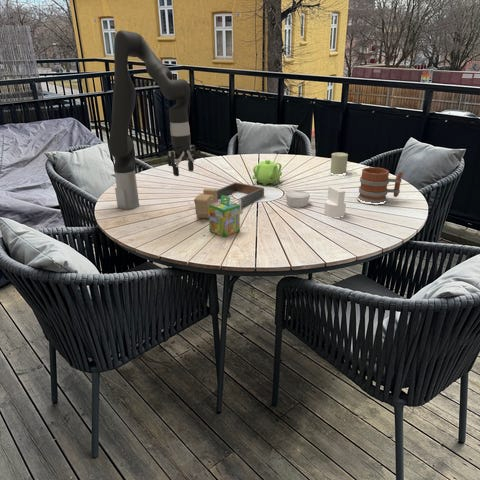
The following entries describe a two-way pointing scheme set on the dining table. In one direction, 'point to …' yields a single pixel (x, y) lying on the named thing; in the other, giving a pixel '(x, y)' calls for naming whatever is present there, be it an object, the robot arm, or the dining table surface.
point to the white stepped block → (335, 202)
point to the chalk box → (224, 217)
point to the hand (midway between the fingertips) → (184, 173)
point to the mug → (377, 185)
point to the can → (339, 163)
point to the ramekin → (297, 198)
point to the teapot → (267, 172)
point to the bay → (250, 190)
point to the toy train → (205, 202)
